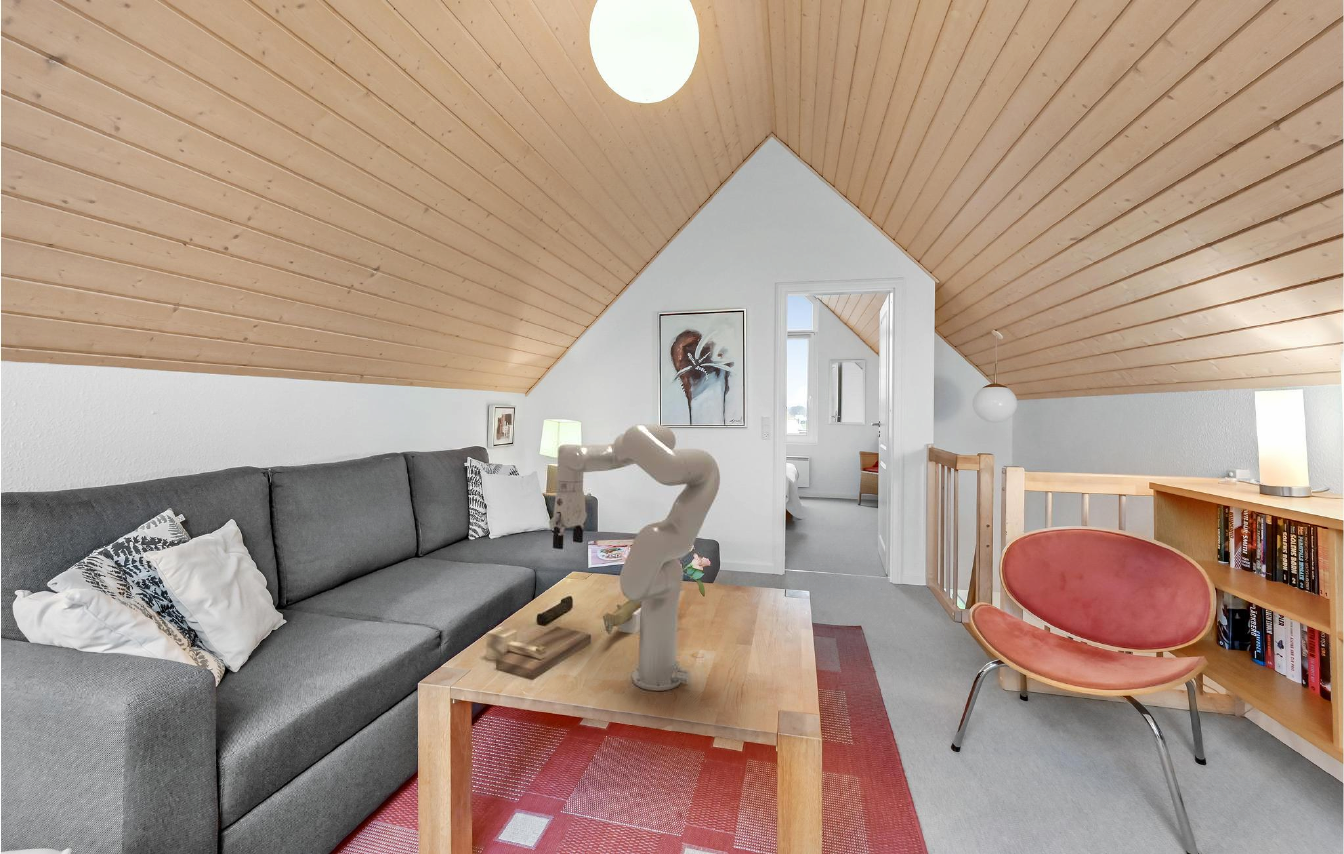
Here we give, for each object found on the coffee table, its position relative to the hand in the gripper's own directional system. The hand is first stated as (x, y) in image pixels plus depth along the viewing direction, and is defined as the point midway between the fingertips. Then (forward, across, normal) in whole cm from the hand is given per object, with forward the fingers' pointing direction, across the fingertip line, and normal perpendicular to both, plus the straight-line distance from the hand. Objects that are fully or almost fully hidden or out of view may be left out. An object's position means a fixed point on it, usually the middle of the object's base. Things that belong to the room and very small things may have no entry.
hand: (568, 545), depth 160 cm
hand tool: (+29, +16, +15) cm, 36 cm away
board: (+28, -10, -1) cm, 30 cm away
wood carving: (+28, +16, -12) cm, 35 cm away
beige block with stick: (+28, -17, +3) cm, 33 cm away
